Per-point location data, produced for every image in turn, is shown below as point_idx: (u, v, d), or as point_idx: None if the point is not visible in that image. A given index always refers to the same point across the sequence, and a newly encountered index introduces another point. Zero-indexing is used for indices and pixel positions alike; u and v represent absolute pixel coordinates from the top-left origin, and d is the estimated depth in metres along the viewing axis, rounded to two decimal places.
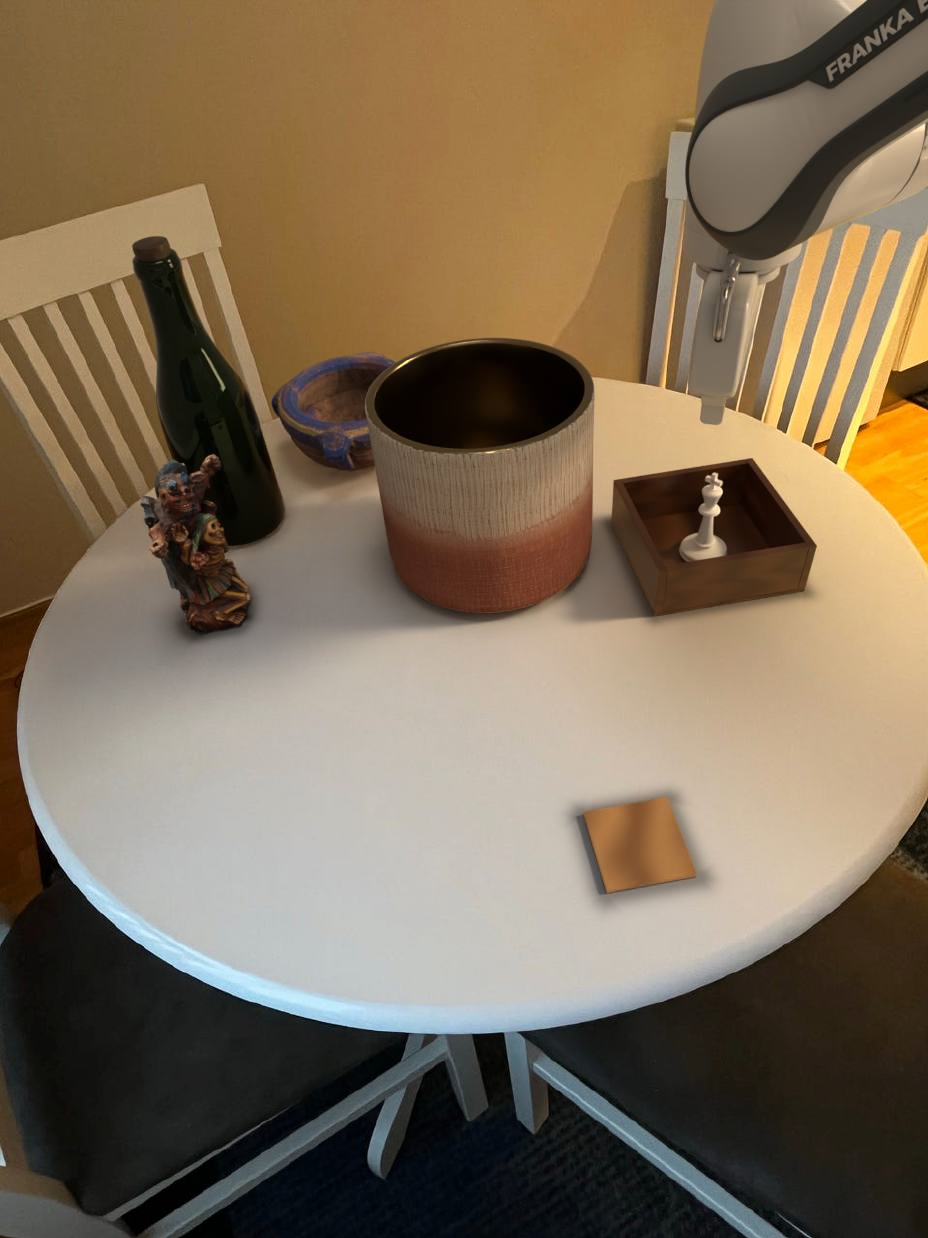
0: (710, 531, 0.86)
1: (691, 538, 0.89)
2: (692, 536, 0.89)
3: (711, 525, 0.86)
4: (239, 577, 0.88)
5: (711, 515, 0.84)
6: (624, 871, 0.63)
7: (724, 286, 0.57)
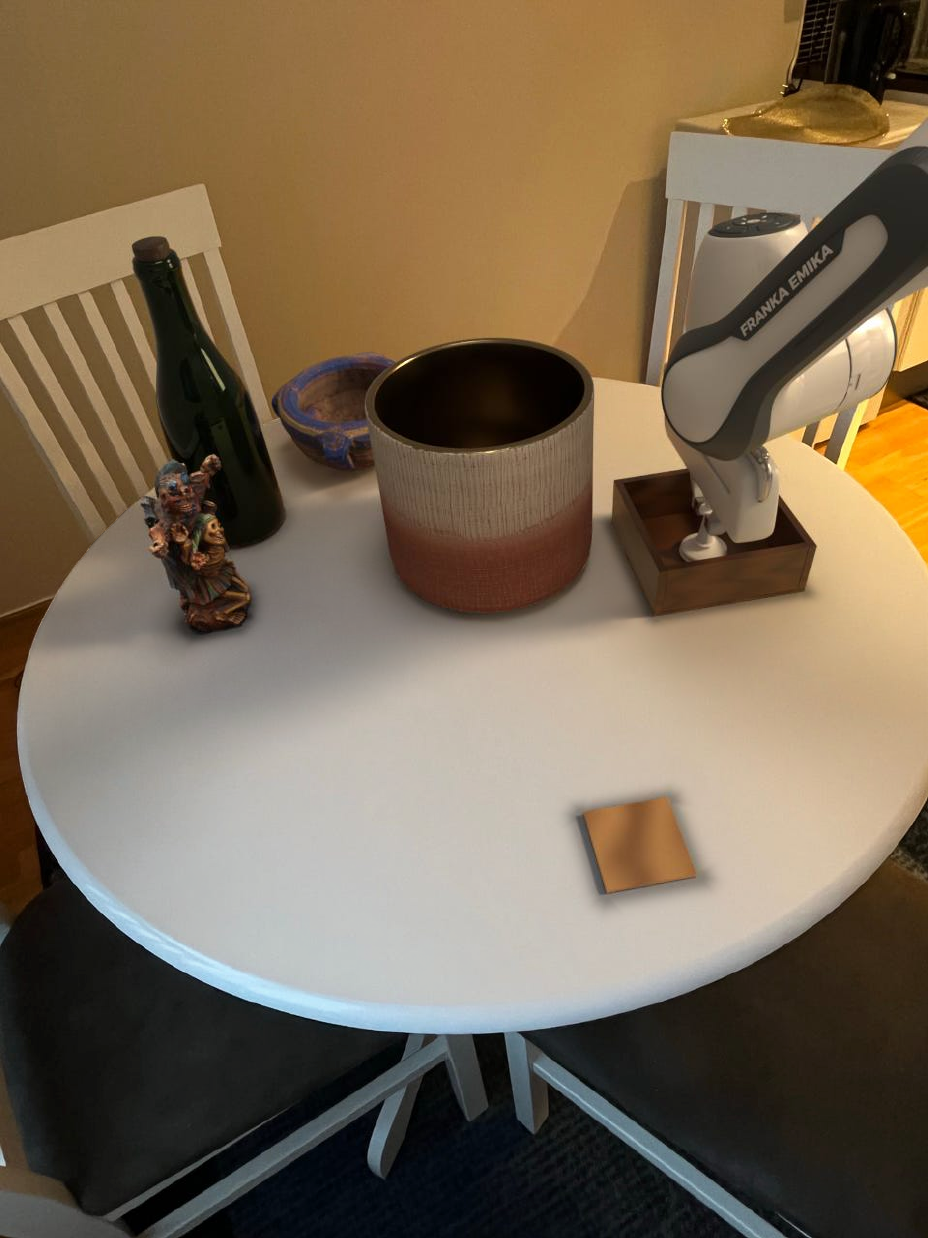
0: None
1: (691, 538, 0.89)
2: (692, 536, 0.89)
3: None
4: (239, 577, 0.88)
5: None
6: (624, 871, 0.63)
7: (766, 463, 0.70)
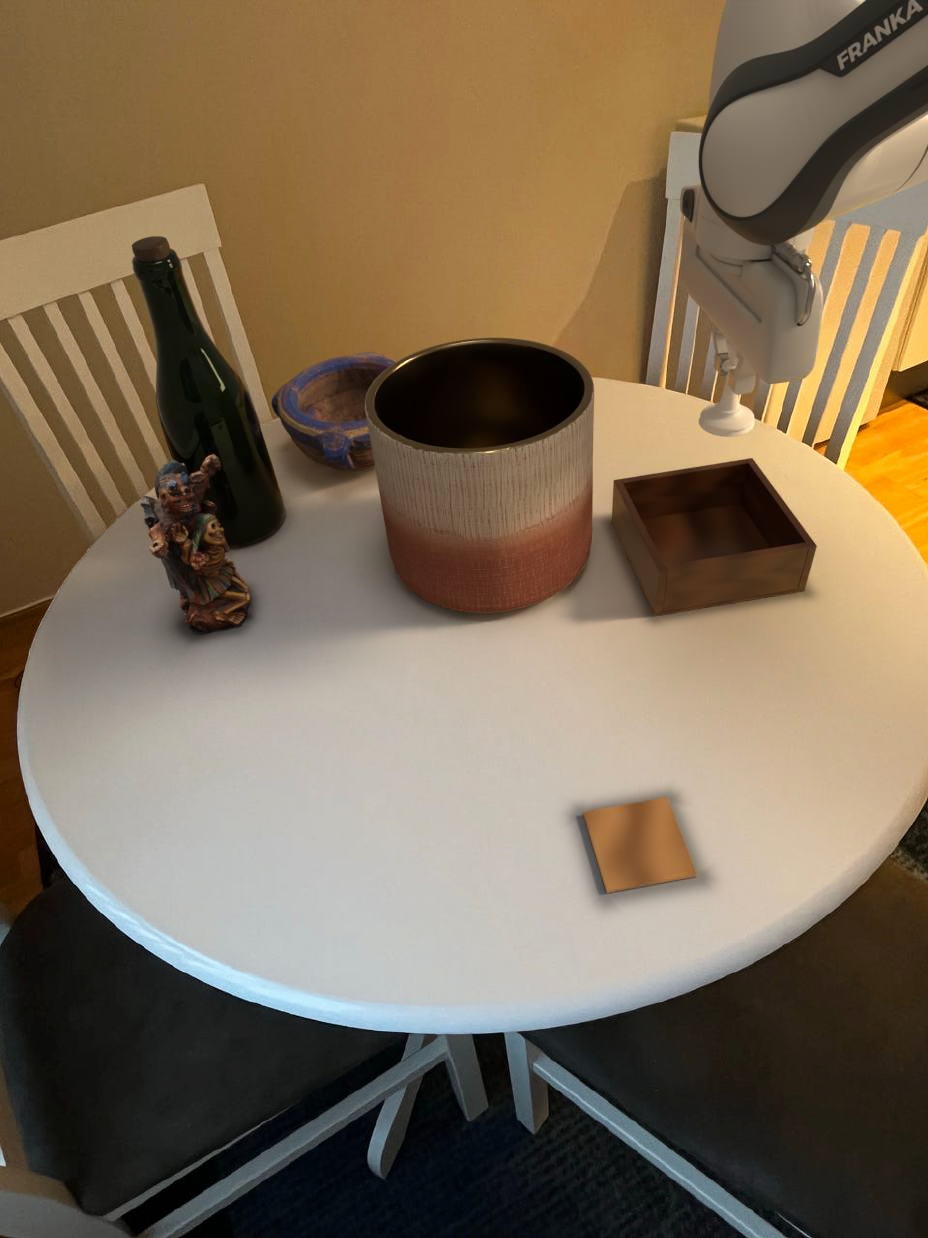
0: None
1: (712, 407, 0.77)
2: (713, 405, 0.77)
3: None
4: (239, 577, 0.88)
5: None
6: (624, 871, 0.63)
7: (808, 270, 0.58)
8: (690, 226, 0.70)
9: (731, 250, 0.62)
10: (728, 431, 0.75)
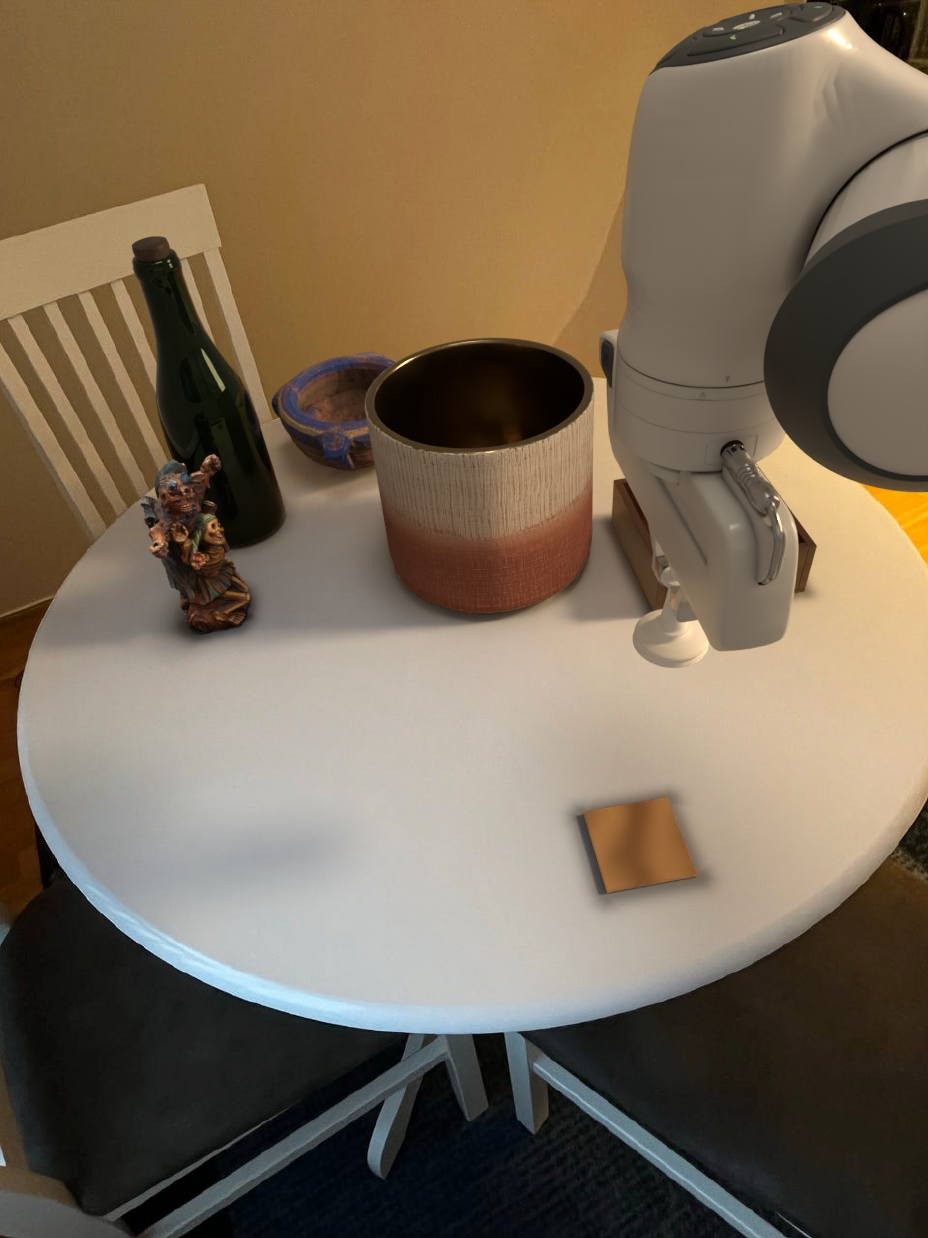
0: None
1: (652, 619, 0.55)
2: (653, 614, 0.56)
3: None
4: (239, 577, 0.88)
5: None
6: (624, 871, 0.63)
7: (773, 515, 0.36)
8: None
9: (661, 456, 0.41)
10: (671, 661, 0.53)
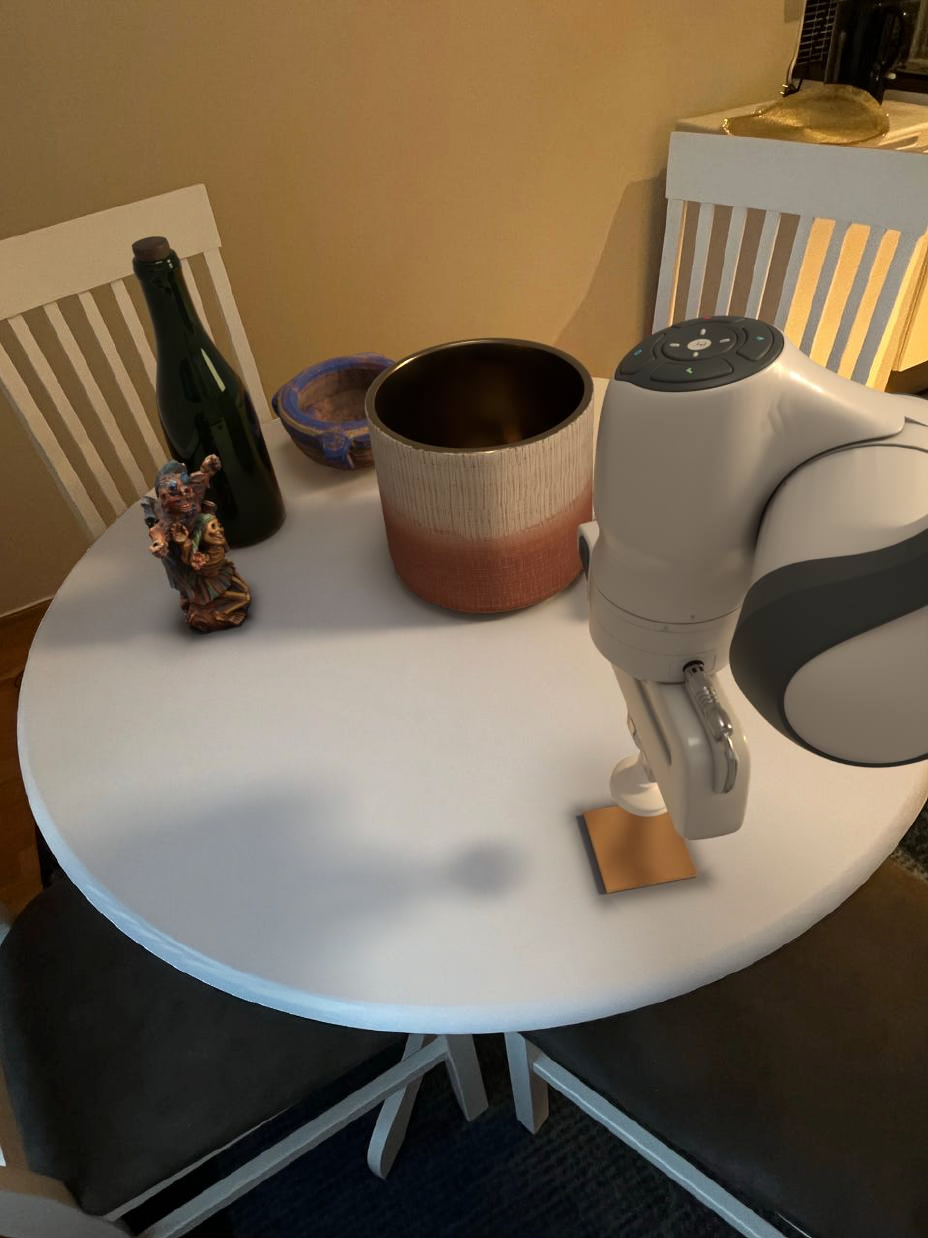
0: None
1: (627, 766, 0.60)
2: (628, 762, 0.60)
3: None
4: (239, 577, 0.88)
5: None
6: (624, 871, 0.63)
7: (727, 744, 0.41)
8: None
9: (630, 667, 0.46)
10: (644, 811, 0.58)
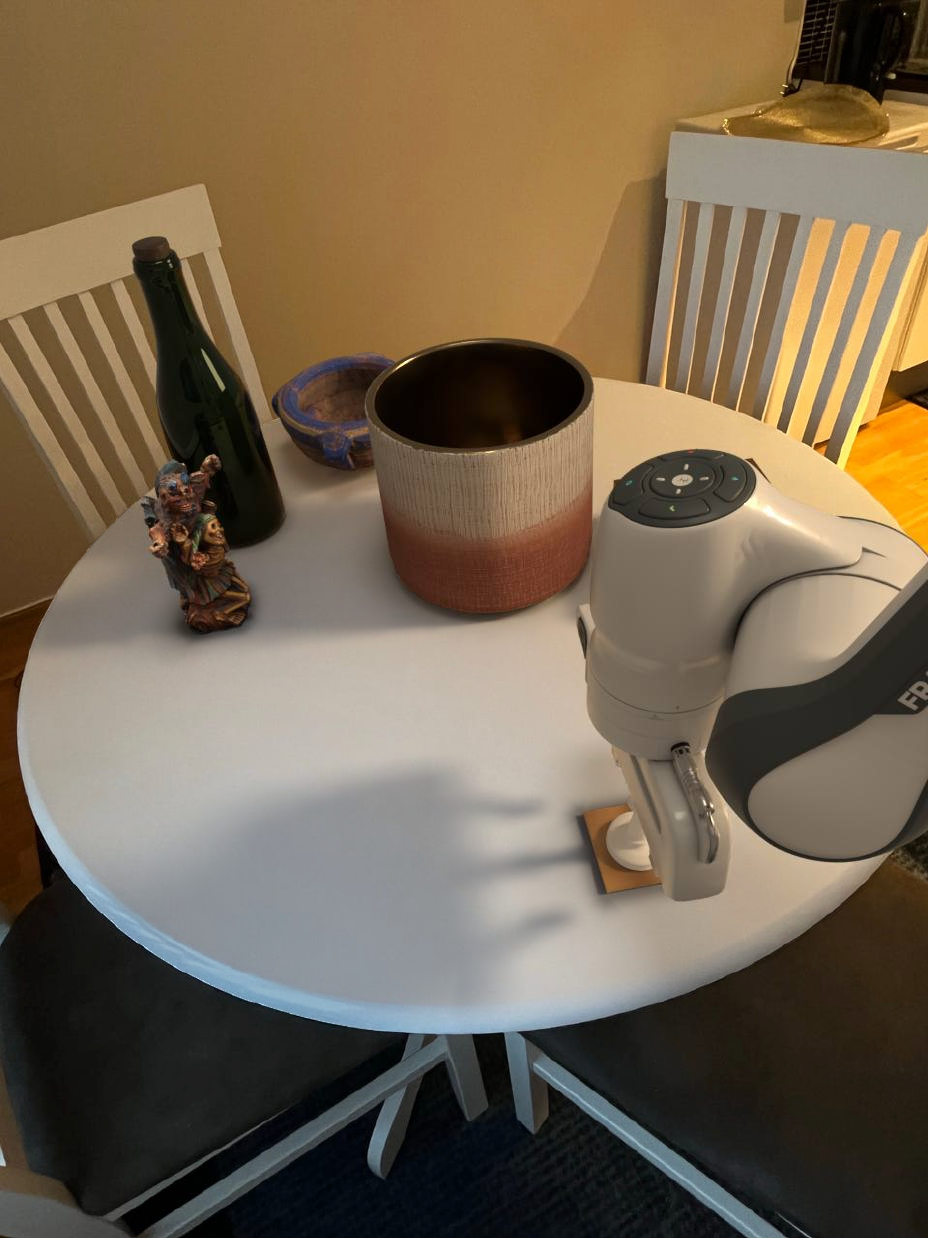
0: None
1: (622, 823, 0.65)
2: (623, 818, 0.66)
3: None
4: (239, 577, 0.88)
5: None
6: (624, 871, 0.63)
7: (709, 822, 0.46)
8: None
9: (623, 746, 0.51)
10: (637, 866, 0.63)
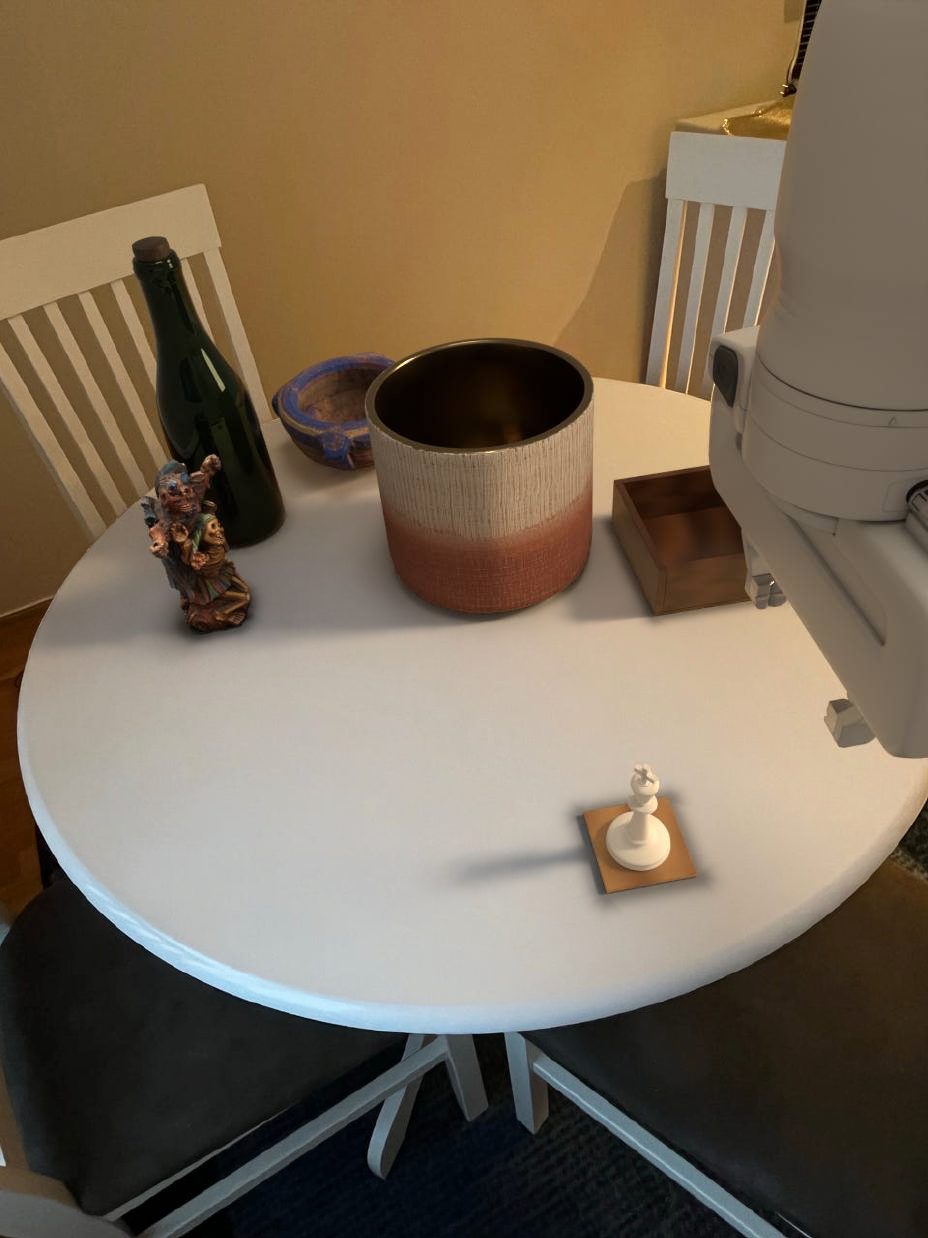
0: (645, 826, 0.62)
1: (622, 823, 0.65)
2: (623, 818, 0.66)
3: (646, 820, 0.62)
4: (239, 577, 0.88)
5: (644, 813, 0.60)
6: (624, 871, 0.63)
7: None
8: (727, 405, 0.39)
9: (820, 500, 0.31)
10: (637, 866, 0.63)
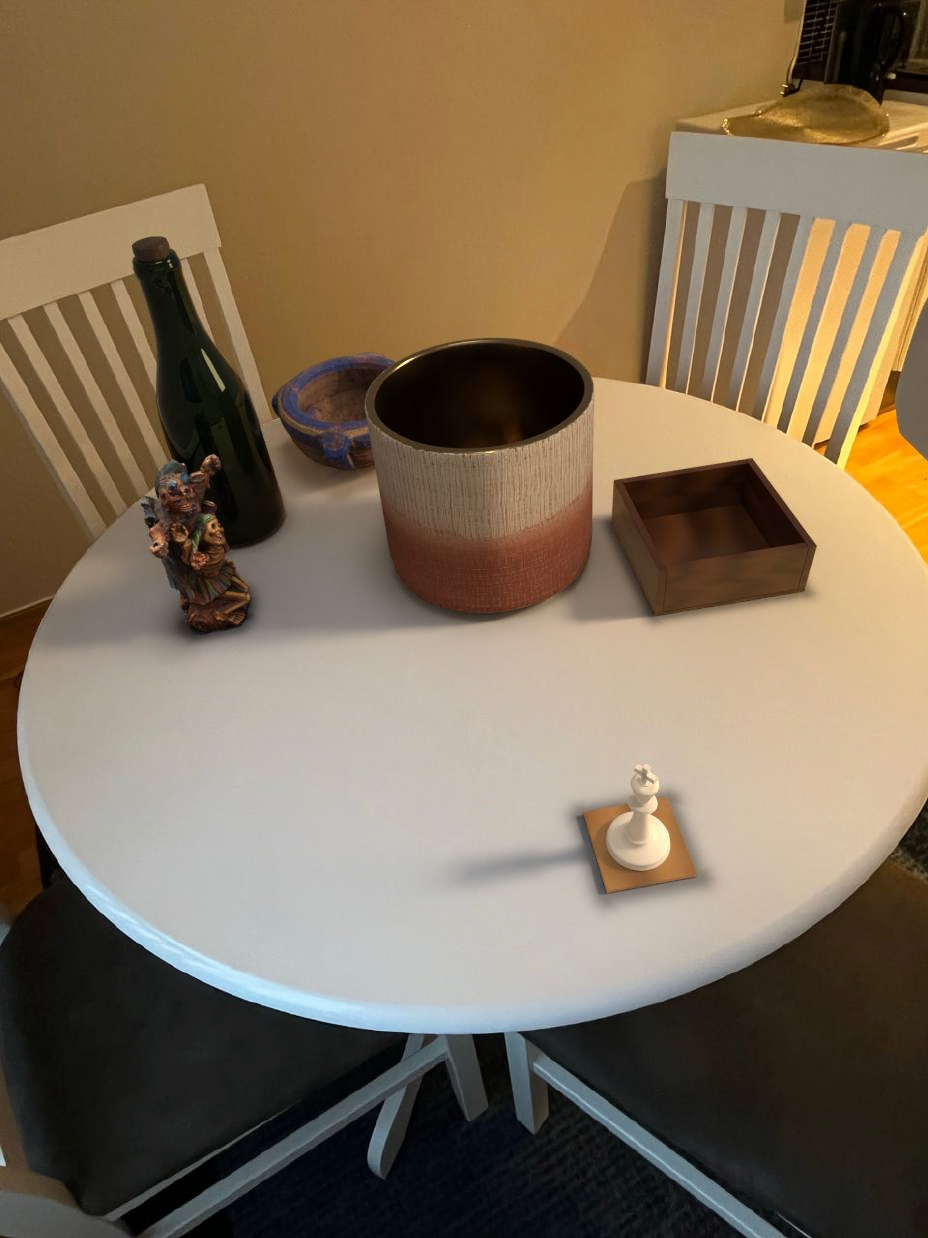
0: (645, 826, 0.62)
1: (622, 823, 0.65)
2: (623, 818, 0.66)
3: (646, 820, 0.62)
4: (239, 577, 0.88)
5: (644, 813, 0.60)
6: (624, 871, 0.63)
7: None
8: None
9: None
10: (637, 866, 0.63)
